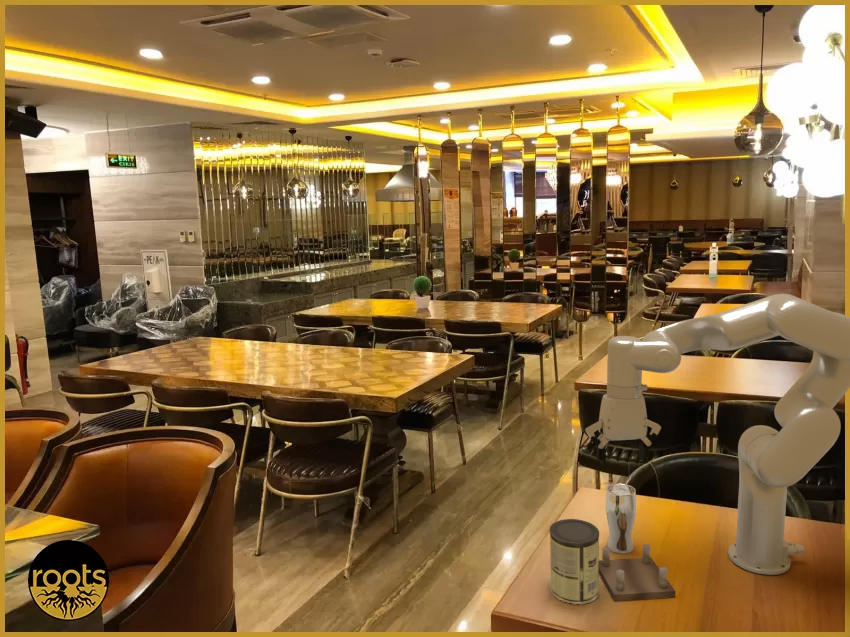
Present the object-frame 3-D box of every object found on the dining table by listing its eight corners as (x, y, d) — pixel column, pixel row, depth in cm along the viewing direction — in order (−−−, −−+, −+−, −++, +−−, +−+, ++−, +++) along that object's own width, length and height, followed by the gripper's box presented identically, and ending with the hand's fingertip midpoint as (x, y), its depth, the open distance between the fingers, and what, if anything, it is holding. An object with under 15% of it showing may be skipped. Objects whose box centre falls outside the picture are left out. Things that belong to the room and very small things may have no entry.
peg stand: (650, 563, 147) (651, 541, 146) (675, 597, 134) (675, 573, 133) (595, 566, 147) (595, 544, 146) (614, 601, 134) (614, 577, 133)
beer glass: (641, 548, 153) (642, 490, 151) (622, 558, 150) (623, 498, 147) (618, 536, 159) (618, 480, 157) (599, 546, 155) (599, 488, 153)
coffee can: (557, 572, 145) (557, 515, 143) (603, 583, 140) (604, 523, 138) (543, 597, 136) (543, 536, 134) (592, 610, 131) (593, 547, 129)
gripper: (654, 384, 150) (652, 453, 153) (581, 387, 149) (581, 457, 152) (668, 393, 142) (665, 466, 145) (591, 397, 141) (590, 470, 145)
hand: (622, 461), depth 149 cm, fingers open, 9 cm apart
